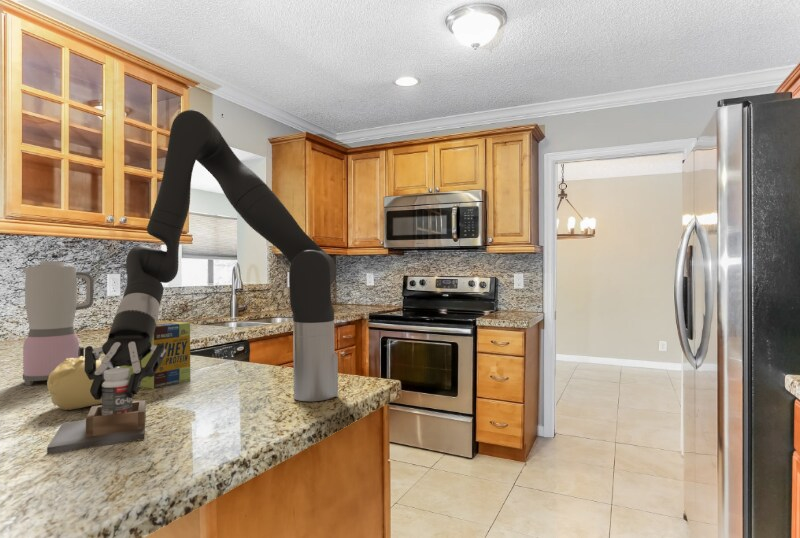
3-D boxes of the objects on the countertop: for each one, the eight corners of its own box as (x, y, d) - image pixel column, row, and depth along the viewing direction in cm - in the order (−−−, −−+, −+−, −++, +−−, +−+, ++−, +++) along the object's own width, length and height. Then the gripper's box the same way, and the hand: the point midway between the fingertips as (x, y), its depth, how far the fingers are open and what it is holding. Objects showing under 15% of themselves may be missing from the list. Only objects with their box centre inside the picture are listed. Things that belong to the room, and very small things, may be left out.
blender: (19, 388, 117) (19, 260, 117) (24, 379, 127) (24, 262, 127) (94, 379, 126) (93, 261, 126) (93, 371, 136) (93, 262, 136)
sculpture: (56, 402, 103) (56, 354, 103) (119, 396, 108) (118, 350, 108) (38, 417, 93) (38, 362, 93) (108, 410, 97) (108, 358, 97)
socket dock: (145, 417, 92) (145, 396, 92) (144, 439, 79) (144, 415, 79) (62, 428, 86) (62, 406, 86) (47, 454, 73) (47, 428, 73)
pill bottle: (118, 421, 81) (117, 373, 81) (95, 419, 82) (94, 372, 82) (138, 413, 86) (138, 367, 86) (116, 411, 87) (116, 366, 87)
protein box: (154, 389, 114) (153, 326, 114) (118, 382, 122) (118, 323, 122) (191, 380, 123) (191, 322, 124) (156, 375, 131) (156, 319, 131)
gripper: (90, 309, 90) (59, 387, 78) (170, 308, 93) (153, 382, 81) (101, 333, 95) (74, 410, 83) (177, 331, 98) (161, 404, 86)
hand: (113, 396), depth 82 cm, fingers closed on pill bottle, 4 cm apart
